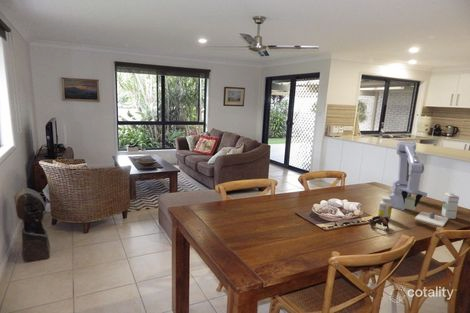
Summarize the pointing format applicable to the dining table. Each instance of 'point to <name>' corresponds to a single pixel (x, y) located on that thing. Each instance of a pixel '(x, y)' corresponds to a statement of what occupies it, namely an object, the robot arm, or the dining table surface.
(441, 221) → the board
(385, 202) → the supplement bottle
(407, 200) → the collar
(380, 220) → the brown animal figurine
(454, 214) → the syrup box
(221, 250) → the dining table surface
